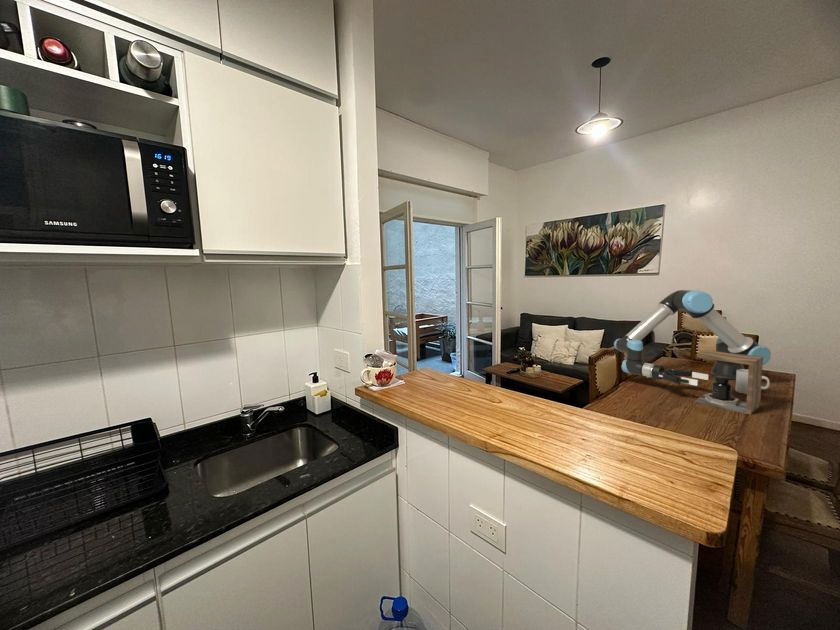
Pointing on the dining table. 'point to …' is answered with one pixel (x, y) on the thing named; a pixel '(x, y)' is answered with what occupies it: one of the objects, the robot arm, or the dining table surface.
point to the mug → (746, 381)
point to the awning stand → (753, 382)
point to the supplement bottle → (722, 388)
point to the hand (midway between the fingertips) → (703, 380)
